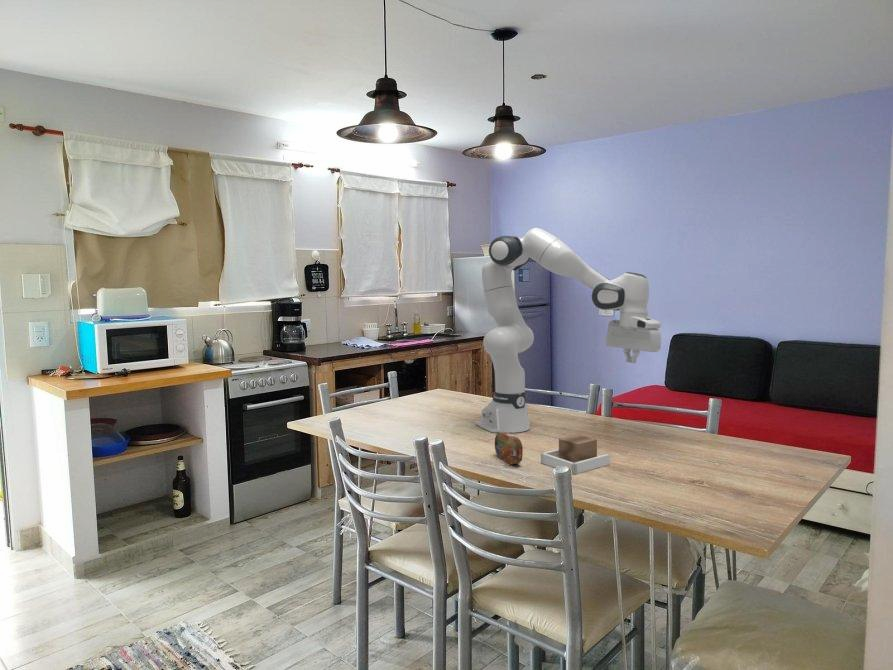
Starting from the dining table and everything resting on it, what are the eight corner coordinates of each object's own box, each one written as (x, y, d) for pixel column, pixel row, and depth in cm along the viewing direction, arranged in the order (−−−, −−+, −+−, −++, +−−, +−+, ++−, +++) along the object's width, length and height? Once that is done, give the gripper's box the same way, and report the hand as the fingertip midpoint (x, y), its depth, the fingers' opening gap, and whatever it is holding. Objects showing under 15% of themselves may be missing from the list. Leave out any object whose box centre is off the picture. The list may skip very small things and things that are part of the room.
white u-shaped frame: (540, 462, 184) (540, 453, 183) (575, 453, 192) (575, 444, 192) (574, 474, 172) (574, 464, 172) (609, 464, 180) (609, 454, 180)
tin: (494, 455, 193) (493, 429, 193) (502, 453, 194) (502, 428, 194) (515, 468, 179) (514, 440, 178) (524, 466, 180) (524, 439, 180)
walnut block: (559, 462, 184) (558, 438, 183) (577, 457, 188) (577, 434, 187) (578, 469, 177) (578, 444, 176) (596, 463, 181) (596, 439, 181)
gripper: (602, 319, 206) (600, 359, 207) (652, 323, 189) (649, 367, 190) (615, 319, 210) (613, 358, 211) (665, 323, 193) (662, 366, 194)
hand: (630, 362), depth 201 cm, fingers closed
